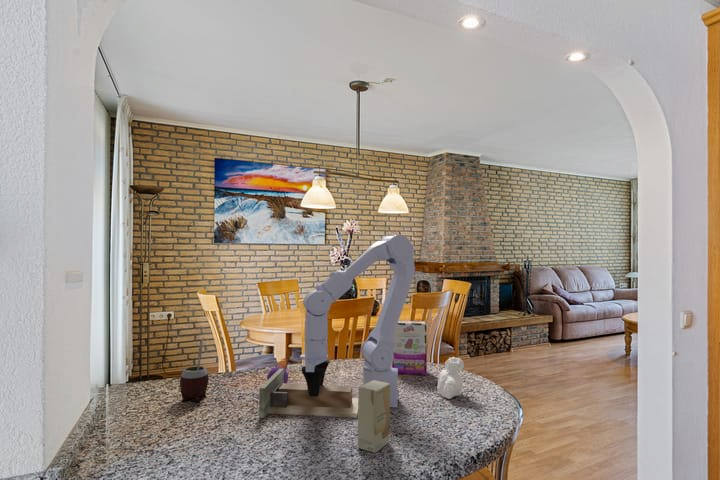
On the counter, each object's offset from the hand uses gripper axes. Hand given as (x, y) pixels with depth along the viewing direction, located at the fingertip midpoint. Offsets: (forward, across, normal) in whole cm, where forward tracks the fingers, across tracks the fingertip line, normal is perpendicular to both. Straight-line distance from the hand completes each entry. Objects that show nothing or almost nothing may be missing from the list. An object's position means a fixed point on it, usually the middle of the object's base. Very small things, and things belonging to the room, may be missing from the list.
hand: (315, 392), depth 105 cm
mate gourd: (+4, -2, -33) cm, 33 cm away
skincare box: (+4, +18, +16) cm, 24 cm away
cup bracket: (+4, 0, 0) cm, 4 cm away
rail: (+3, 0, 0) cm, 3 cm away
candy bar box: (+4, -33, +24) cm, 41 cm away
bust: (+4, -14, +35) cm, 38 cm away
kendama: (+4, -20, -15) cm, 26 cm away
